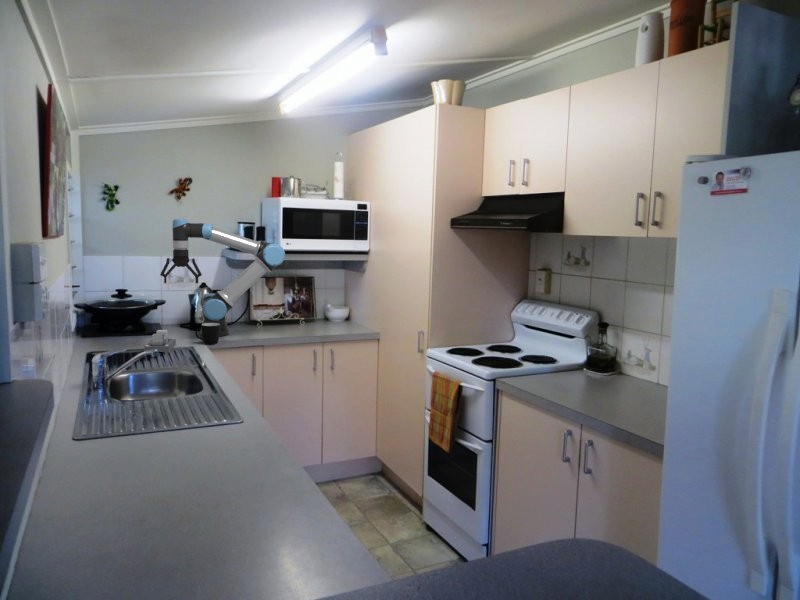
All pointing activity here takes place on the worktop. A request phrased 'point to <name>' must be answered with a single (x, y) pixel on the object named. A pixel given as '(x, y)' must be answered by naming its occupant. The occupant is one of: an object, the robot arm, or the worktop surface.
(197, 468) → the worktop surface
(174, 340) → the grey blocky piece
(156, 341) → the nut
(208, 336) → the mug
